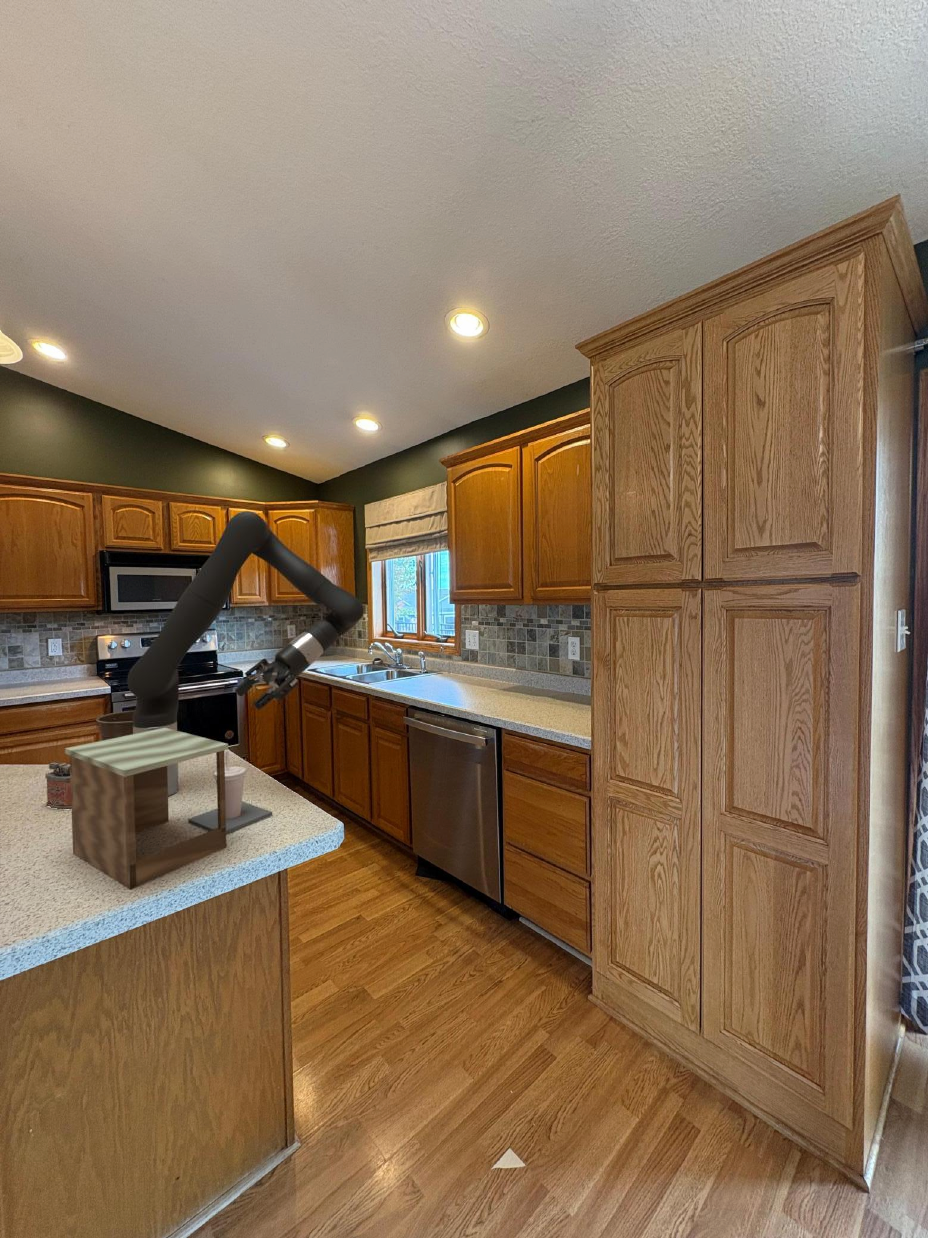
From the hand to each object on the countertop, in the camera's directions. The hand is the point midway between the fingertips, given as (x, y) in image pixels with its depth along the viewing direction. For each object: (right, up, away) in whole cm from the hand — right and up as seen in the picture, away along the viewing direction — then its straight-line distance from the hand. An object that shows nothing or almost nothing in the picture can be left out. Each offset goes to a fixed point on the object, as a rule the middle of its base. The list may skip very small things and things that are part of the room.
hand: (246, 700), depth 119 cm
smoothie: (0, -24, -8) cm, 25 cm away
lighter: (-42, -25, -1) cm, 49 cm away
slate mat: (0, -25, -8) cm, 26 cm away
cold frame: (-9, -25, -21) cm, 34 cm away
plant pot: (-40, -24, +21) cm, 51 cm away
